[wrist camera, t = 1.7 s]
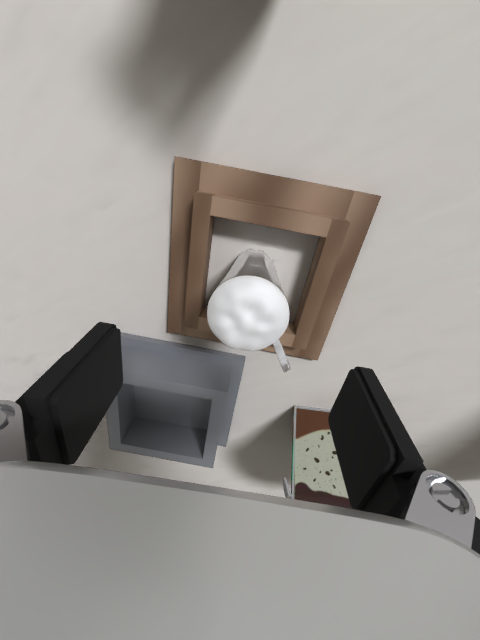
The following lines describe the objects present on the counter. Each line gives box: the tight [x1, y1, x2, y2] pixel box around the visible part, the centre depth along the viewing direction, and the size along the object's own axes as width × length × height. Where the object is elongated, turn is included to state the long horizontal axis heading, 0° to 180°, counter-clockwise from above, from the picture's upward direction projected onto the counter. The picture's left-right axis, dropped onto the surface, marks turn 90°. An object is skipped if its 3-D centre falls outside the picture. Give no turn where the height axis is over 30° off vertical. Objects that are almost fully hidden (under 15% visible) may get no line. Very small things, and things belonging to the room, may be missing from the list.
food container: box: [283, 405, 355, 510], centre depth 26 cm, size 12×6×10 cm, turn 85°
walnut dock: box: [167, 157, 381, 360], centre depth 22 cm, size 14×14×2 cm
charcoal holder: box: [106, 333, 245, 468], centre depth 28 cm, size 13×13×4 cm
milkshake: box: [207, 249, 290, 373], centre depth 18 cm, size 4×5×10 cm
